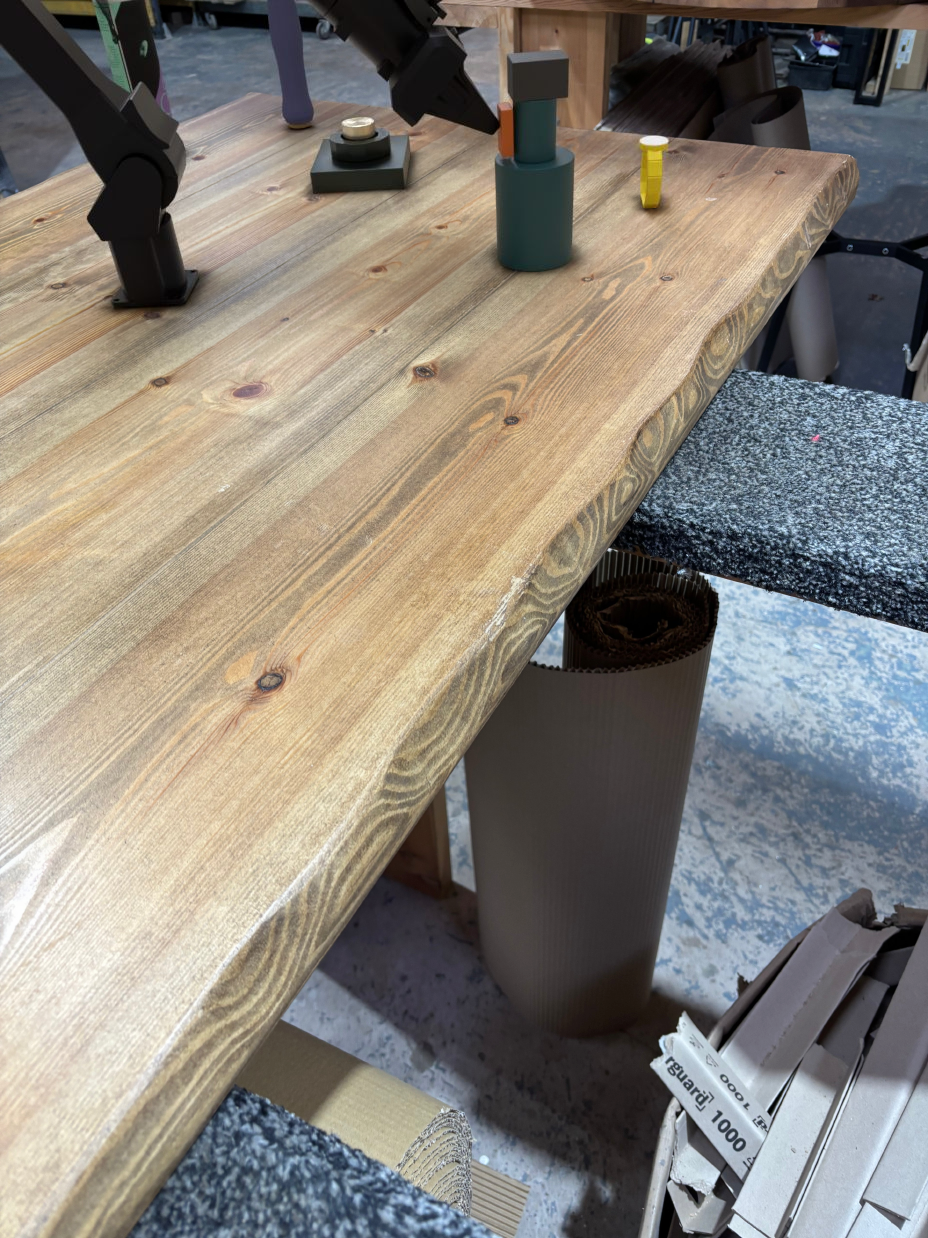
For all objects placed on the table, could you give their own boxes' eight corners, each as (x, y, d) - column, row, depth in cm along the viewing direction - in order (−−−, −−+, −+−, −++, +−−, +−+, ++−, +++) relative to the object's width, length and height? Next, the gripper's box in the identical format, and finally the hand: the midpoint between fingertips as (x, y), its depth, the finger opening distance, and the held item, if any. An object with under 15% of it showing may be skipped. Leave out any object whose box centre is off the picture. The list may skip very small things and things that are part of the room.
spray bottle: (502, 274, 82) (497, 69, 72) (492, 245, 87) (486, 49, 76) (578, 267, 83) (585, 62, 72) (564, 238, 88) (568, 43, 77)
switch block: (405, 189, 100) (401, 149, 98) (313, 193, 101) (306, 154, 98) (410, 154, 109) (407, 116, 106) (326, 158, 109) (320, 121, 107)
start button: (374, 142, 101) (372, 125, 100) (341, 144, 101) (339, 127, 100) (377, 133, 104) (375, 115, 102) (345, 134, 104) (343, 117, 103)
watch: (631, 193, 96) (636, 130, 92) (659, 192, 95) (664, 129, 91) (637, 214, 91) (642, 149, 87) (666, 213, 91) (672, 148, 87)
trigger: (501, 157, 78) (500, 110, 75) (498, 148, 80) (496, 102, 77) (513, 156, 78) (513, 109, 75) (509, 148, 80) (508, 101, 77)
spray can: (175, 163, 111) (125, -40, 98) (130, 165, 111) (74, -37, 98) (186, 149, 115) (140, -48, 102) (143, 151, 115) (90, -45, 102)
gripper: (424, -110, 59) (589, 72, 67) (406, -133, 73) (545, 21, 81) (320, 44, 64) (485, 196, 72) (321, -4, 78) (460, 128, 86)
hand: (496, 129), depth 77 cm, fingers closed, pressing on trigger
